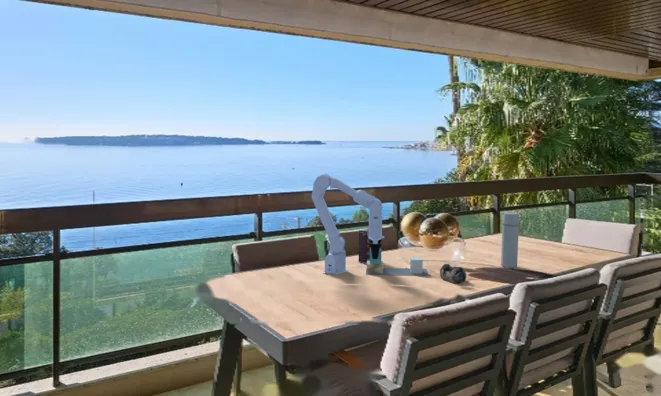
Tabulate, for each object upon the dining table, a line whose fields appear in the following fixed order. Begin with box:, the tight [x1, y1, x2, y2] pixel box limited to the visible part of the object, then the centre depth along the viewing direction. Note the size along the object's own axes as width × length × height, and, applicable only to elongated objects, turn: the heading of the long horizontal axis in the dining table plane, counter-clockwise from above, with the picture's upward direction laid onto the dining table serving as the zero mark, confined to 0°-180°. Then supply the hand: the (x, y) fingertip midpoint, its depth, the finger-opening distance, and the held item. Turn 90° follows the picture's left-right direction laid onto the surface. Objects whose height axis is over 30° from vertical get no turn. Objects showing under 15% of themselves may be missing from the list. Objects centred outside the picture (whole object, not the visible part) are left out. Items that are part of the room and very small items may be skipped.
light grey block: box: [409, 256, 424, 274], centre depth 222 cm, size 5×5×6 cm
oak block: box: [366, 260, 384, 274], centre depth 223 cm, size 7×7×4 cm
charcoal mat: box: [365, 267, 430, 277], centre depth 223 cm, size 27×13×1 cm, turn 85°
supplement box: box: [358, 227, 370, 264], centre depth 243 cm, size 9×5×16 cm, turn 143°
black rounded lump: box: [439, 263, 468, 284], centre depth 208 cm, size 12×7×10 cm
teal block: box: [370, 247, 382, 264], centre depth 223 cm, size 5×5×6 cm
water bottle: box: [500, 212, 520, 269], centre depth 234 cm, size 9×8×25 cm
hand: (375, 257), depth 223 cm, fingers open, 7 cm apart
